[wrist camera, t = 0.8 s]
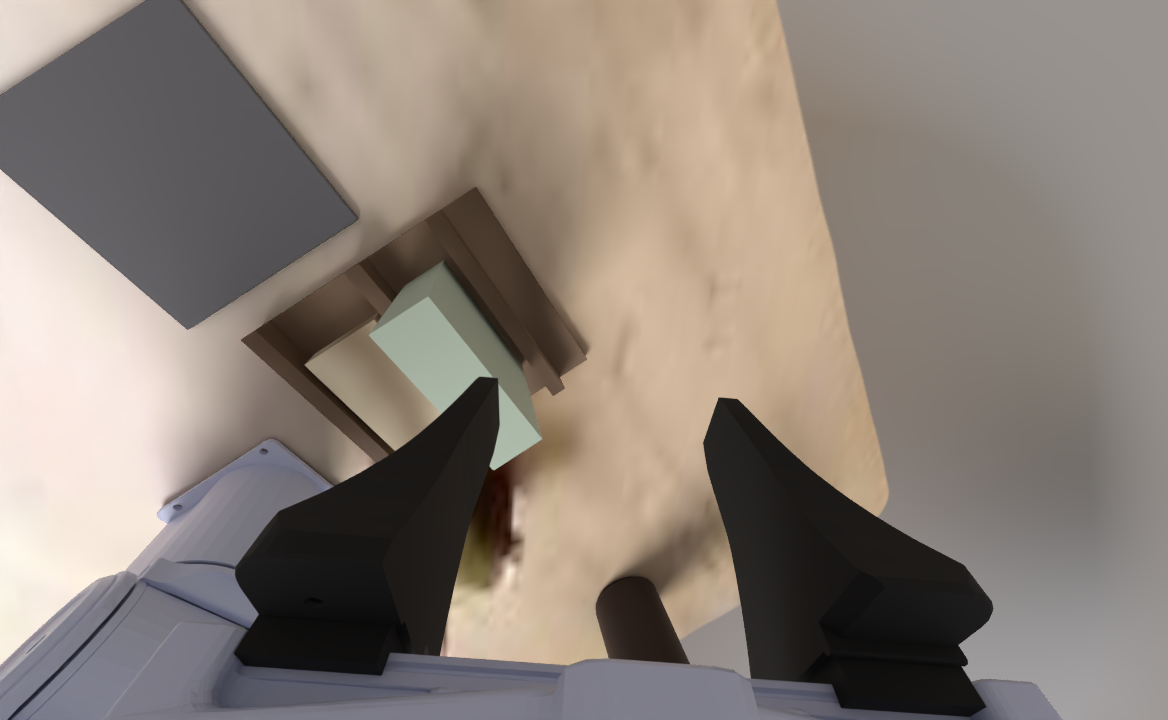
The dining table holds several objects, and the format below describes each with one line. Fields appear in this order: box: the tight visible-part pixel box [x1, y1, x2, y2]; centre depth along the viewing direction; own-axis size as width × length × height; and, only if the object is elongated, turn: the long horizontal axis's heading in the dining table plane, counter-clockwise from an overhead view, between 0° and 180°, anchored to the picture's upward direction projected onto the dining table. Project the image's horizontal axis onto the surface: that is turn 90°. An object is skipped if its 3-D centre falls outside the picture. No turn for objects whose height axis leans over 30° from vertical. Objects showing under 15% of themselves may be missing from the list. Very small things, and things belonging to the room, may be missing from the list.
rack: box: [241, 187, 587, 463], centre depth 28 cm, size 16×14×3 cm
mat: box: [0, 0, 358, 330], centre depth 22 cm, size 12×12×1 cm
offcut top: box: [305, 315, 441, 451], centre depth 27 cm, size 5×8×1 cm, turn 30°
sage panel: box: [369, 260, 542, 470], centre depth 24 cm, size 3×9×10 cm, turn 30°
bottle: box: [596, 577, 690, 664], centre depth 35 cm, size 7×7×20 cm
